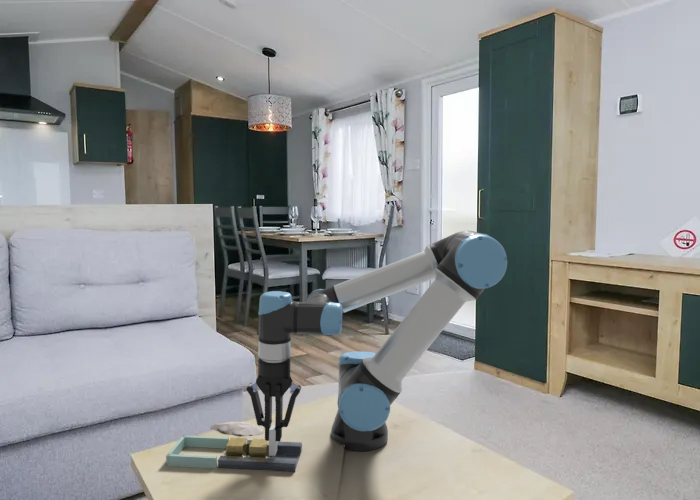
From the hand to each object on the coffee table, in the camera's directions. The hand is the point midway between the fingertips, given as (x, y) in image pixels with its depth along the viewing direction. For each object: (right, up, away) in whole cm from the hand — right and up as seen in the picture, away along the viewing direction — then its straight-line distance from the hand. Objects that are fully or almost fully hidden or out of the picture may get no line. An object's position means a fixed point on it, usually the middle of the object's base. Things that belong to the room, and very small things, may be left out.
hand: (273, 452), depth 121 cm
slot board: (-3, -3, 0) cm, 4 cm away
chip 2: (-3, -2, 0) cm, 4 cm away
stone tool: (-12, -1, +16) cm, 20 cm away
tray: (-18, -2, +1) cm, 18 cm away
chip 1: (-9, -1, +1) cm, 9 cm away
